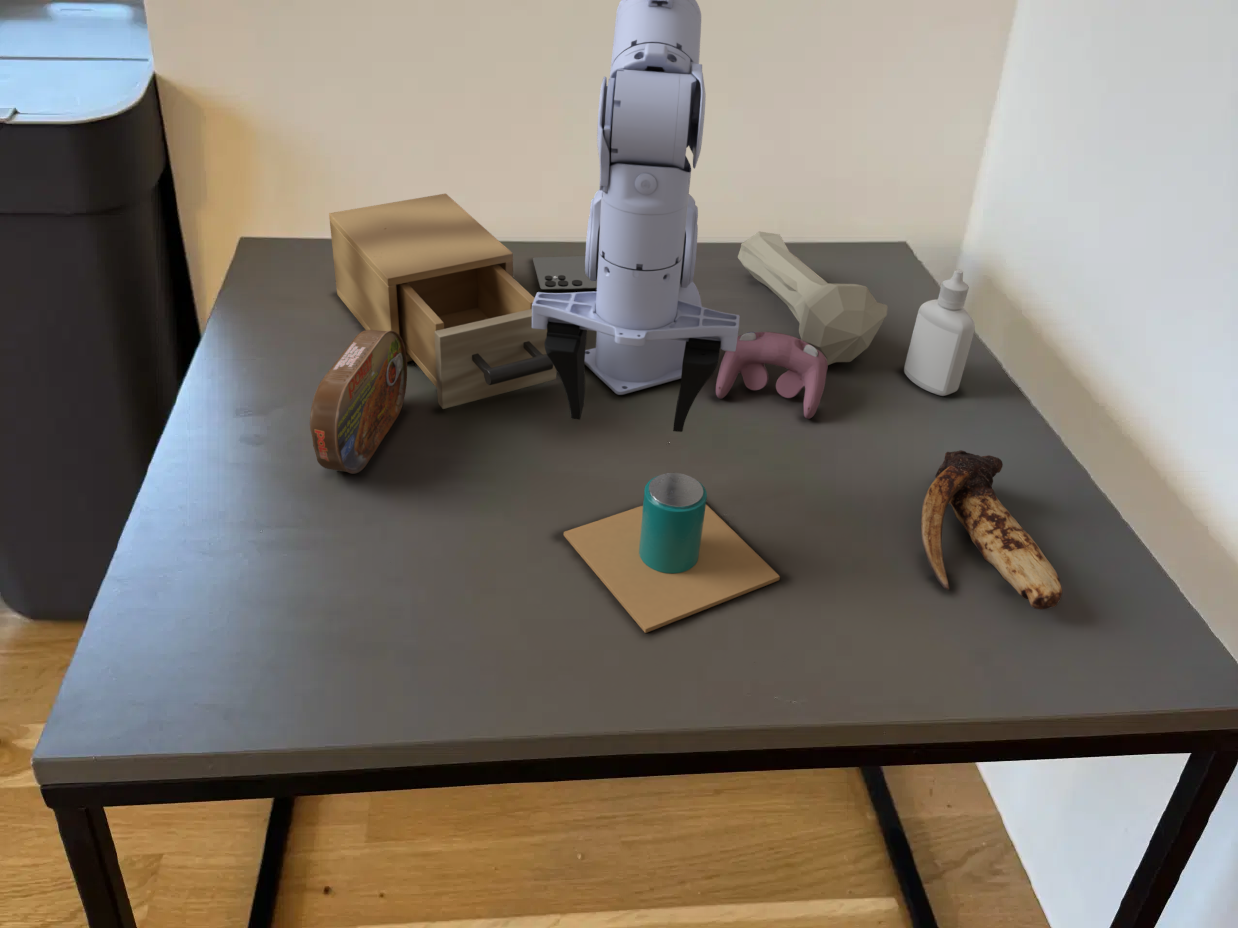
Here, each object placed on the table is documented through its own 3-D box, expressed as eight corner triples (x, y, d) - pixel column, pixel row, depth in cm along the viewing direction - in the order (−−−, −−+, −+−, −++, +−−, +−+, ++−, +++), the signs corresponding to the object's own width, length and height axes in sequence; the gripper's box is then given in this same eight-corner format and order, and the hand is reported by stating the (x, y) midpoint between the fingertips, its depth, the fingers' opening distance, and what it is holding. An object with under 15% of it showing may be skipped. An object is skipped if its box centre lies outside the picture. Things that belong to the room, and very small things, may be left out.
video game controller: (819, 417, 104) (836, 344, 103) (814, 421, 100) (832, 345, 99) (718, 394, 107) (734, 322, 105) (709, 397, 102) (726, 322, 101)
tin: (347, 494, 89) (337, 406, 84) (310, 487, 89) (298, 400, 84) (412, 396, 101) (407, 314, 96) (379, 391, 101) (373, 309, 96)
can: (653, 527, 87) (659, 463, 83) (707, 545, 85) (716, 481, 82) (629, 561, 83) (634, 496, 80) (685, 581, 82) (693, 515, 78)
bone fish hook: (874, 487, 94) (964, 633, 80) (882, 441, 92) (977, 584, 77) (975, 477, 96) (1082, 619, 81) (987, 432, 93) (1100, 570, 79)
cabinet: (513, 337, 110) (513, 253, 105) (393, 365, 105) (387, 278, 99) (448, 272, 121) (445, 193, 115) (337, 294, 115) (328, 213, 110)
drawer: (578, 401, 100) (581, 331, 95) (462, 433, 95) (460, 360, 90) (488, 311, 112) (487, 245, 108) (381, 334, 107) (376, 266, 103)
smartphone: (686, 284, 121) (541, 287, 118) (686, 289, 121) (540, 291, 118) (671, 253, 127) (532, 255, 124) (670, 258, 127) (532, 259, 124)
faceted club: (803, 377, 105) (705, 271, 125) (874, 388, 109) (769, 284, 129) (839, 293, 101) (732, 198, 121) (912, 307, 105) (797, 212, 124)
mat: (690, 492, 91) (691, 489, 91) (779, 580, 83) (780, 576, 83) (563, 535, 86) (563, 531, 86) (645, 633, 78) (645, 629, 78)
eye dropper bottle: (917, 398, 105) (946, 285, 98) (899, 367, 110) (926, 257, 103) (961, 398, 106) (993, 285, 99) (941, 367, 110) (971, 257, 103)
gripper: (523, 266, 72) (522, 436, 80) (745, 291, 71) (721, 460, 79) (543, 222, 78) (540, 385, 86) (748, 244, 77) (726, 407, 85)
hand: (627, 418), depth 83 cm, fingers open, 7 cm apart
